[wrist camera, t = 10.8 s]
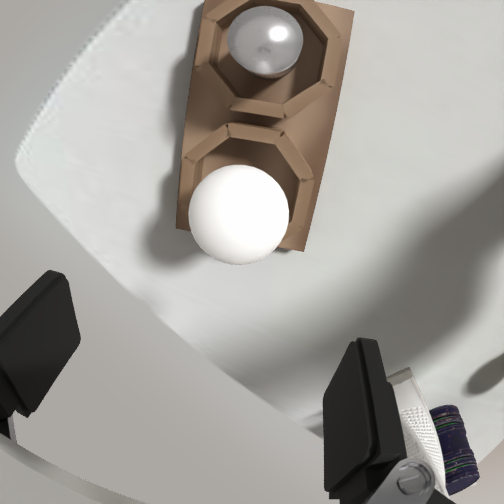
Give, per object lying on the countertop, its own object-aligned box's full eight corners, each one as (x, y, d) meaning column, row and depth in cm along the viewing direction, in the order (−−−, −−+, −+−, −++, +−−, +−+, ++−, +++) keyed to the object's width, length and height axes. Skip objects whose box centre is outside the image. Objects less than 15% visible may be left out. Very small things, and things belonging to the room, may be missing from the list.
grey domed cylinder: (301, 34, 20) (308, 12, 14) (292, 84, 22) (296, 78, 16) (246, 26, 20) (233, 2, 14) (237, 75, 23) (221, 67, 16)
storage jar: (404, 420, 44) (419, 494, 31) (456, 396, 41) (480, 469, 28) (415, 440, 47) (428, 504, 34) (460, 419, 44) (480, 482, 31)
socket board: (349, 16, 21) (362, 1, 16) (302, 242, 31) (305, 268, 26) (212, -5, 21) (198, -22, 16) (181, 220, 31) (165, 242, 27)
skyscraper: (418, 362, 37) (467, 552, 13) (429, 390, 40) (468, 551, 15) (363, 387, 40) (385, 576, 15) (380, 411, 43) (401, 573, 18)
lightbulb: (256, 131, 25) (238, 153, 15) (302, 189, 26) (312, 245, 17) (201, 176, 27) (153, 224, 17) (246, 229, 29) (225, 301, 19)
